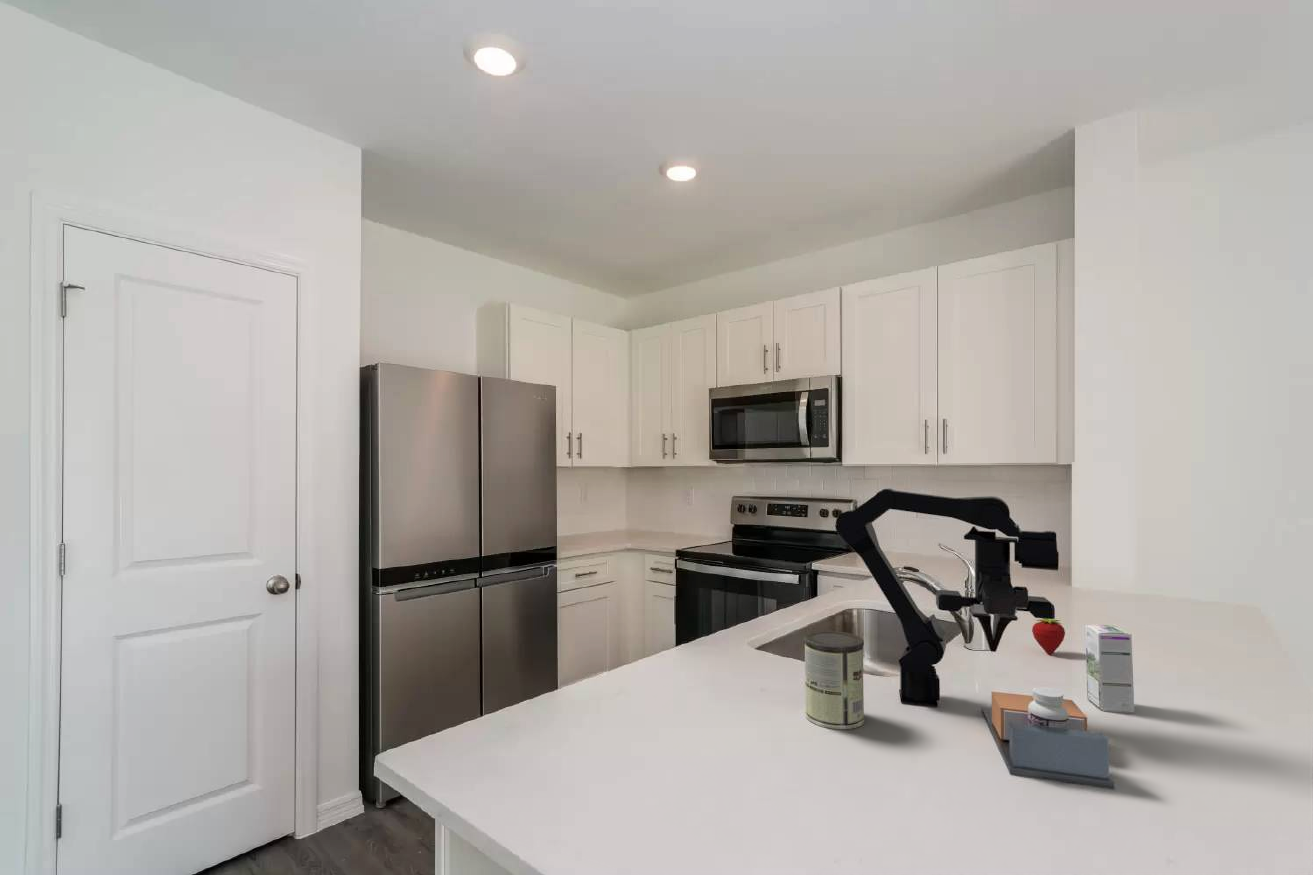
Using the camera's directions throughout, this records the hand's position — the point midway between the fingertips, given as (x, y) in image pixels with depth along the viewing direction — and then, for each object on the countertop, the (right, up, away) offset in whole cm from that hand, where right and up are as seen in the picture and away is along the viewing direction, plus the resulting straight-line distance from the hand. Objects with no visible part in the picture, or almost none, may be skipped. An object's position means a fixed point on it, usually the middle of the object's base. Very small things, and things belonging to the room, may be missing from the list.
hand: (992, 651), depth 116 cm
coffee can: (-30, -11, -3) cm, 32 cm away
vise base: (0, -11, -14) cm, 17 cm away
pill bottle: (-2, -10, -19) cm, 22 cm away
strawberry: (+32, -13, +35) cm, 49 cm away
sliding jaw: (0, -9, -13) cm, 16 cm away
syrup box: (+24, -12, +3) cm, 26 cm away
